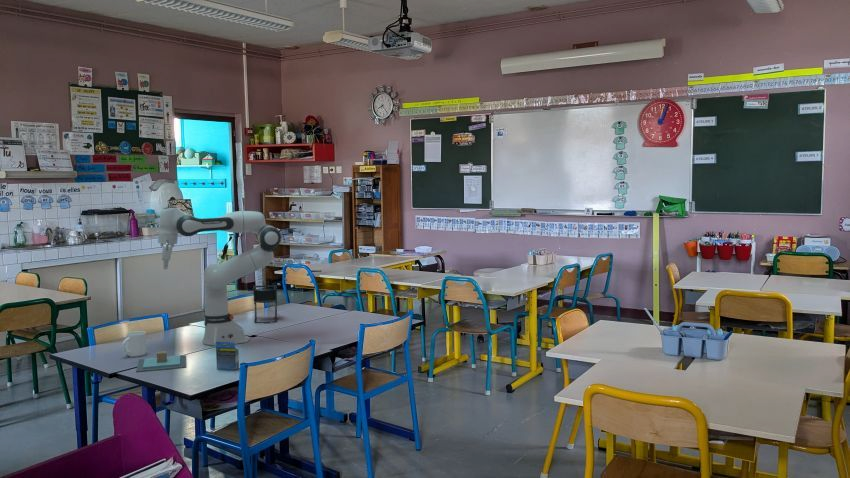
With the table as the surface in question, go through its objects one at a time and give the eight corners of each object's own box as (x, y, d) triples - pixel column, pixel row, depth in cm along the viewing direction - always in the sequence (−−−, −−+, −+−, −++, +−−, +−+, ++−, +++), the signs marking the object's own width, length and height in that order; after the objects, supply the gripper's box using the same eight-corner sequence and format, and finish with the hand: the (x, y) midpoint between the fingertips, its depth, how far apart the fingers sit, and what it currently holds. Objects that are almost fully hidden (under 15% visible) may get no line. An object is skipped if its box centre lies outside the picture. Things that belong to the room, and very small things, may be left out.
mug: (128, 359, 300) (127, 337, 299) (116, 357, 304) (115, 335, 303) (150, 353, 311) (149, 332, 310) (138, 351, 315) (137, 330, 314)
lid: (180, 357, 303) (179, 346, 302) (180, 365, 289) (179, 354, 288) (144, 360, 298) (144, 349, 297) (142, 368, 284) (142, 358, 283)
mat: (186, 356, 306) (186, 355, 306) (186, 367, 287) (186, 366, 287) (139, 360, 299) (139, 359, 299) (136, 372, 280) (136, 371, 280)
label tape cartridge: (239, 368, 287) (238, 340, 286) (235, 370, 283) (234, 342, 282) (220, 367, 288) (219, 339, 287) (216, 369, 284) (215, 341, 283)
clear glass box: (254, 324, 375) (253, 285, 374) (254, 318, 392) (253, 281, 390) (277, 323, 378) (276, 285, 376) (277, 317, 395) (276, 280, 393)
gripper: (174, 241, 313) (172, 270, 314) (174, 238, 332) (172, 265, 333) (160, 241, 311) (158, 270, 312) (161, 237, 330) (159, 265, 331)
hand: (165, 267), depth 322 cm, fingers open, 8 cm apart
